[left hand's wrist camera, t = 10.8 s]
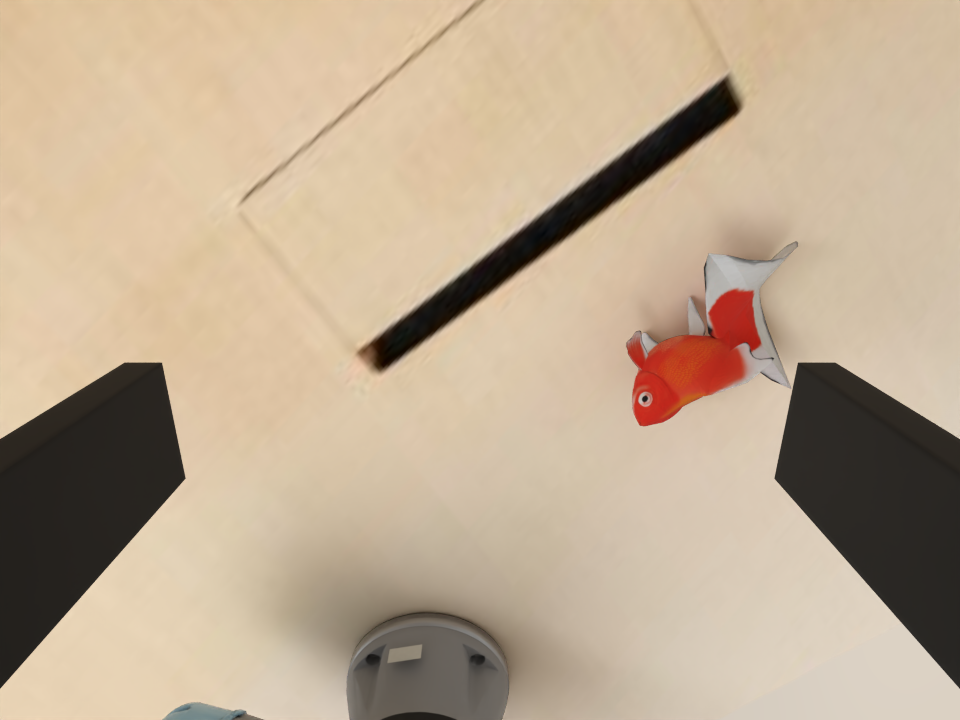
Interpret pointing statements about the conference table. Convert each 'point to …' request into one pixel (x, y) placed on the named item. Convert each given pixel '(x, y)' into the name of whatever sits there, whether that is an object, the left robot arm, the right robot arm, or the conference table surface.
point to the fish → (709, 342)
